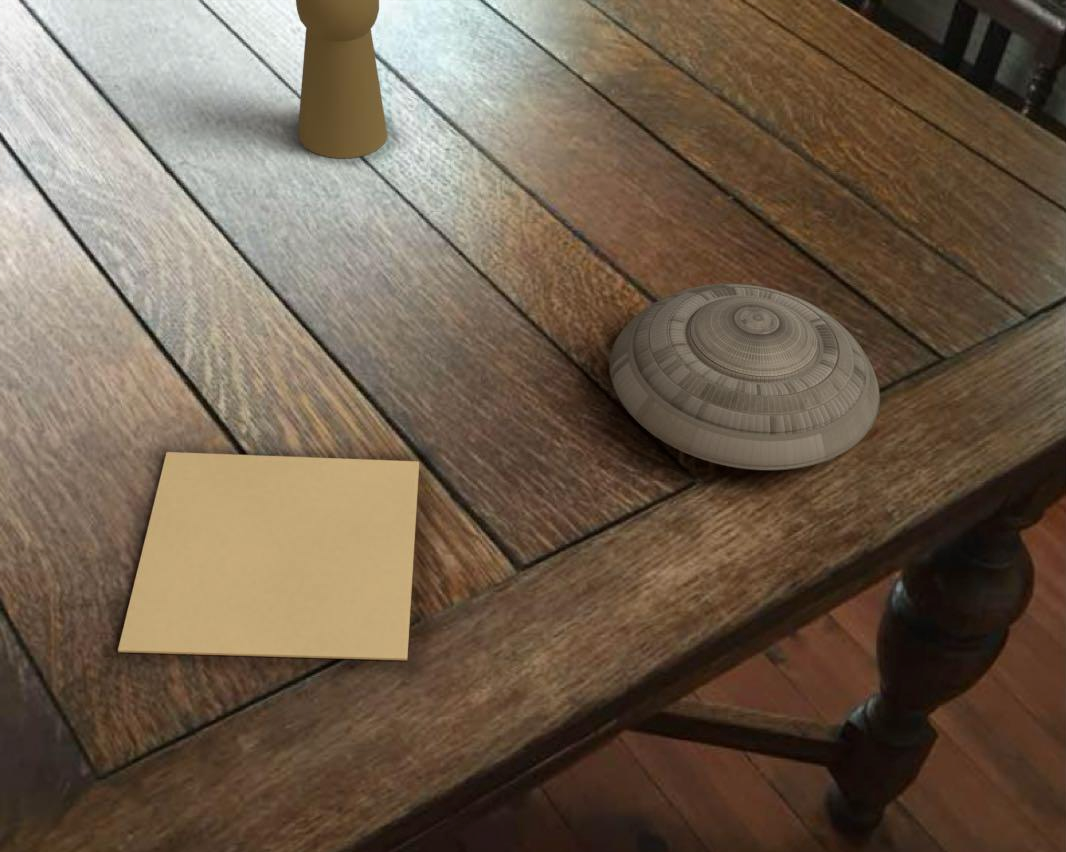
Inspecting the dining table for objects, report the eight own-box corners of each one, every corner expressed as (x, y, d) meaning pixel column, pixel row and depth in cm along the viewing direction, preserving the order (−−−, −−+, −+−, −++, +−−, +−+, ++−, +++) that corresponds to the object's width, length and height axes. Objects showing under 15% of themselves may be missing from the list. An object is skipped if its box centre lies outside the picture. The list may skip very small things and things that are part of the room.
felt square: (166, 454, 70) (166, 451, 70) (419, 463, 71) (419, 461, 71) (118, 652, 61) (117, 650, 61) (407, 660, 62) (407, 658, 62)
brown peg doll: (405, 131, 93) (405, -27, 85) (349, 168, 90) (343, 7, 82) (336, 102, 95) (329, -56, 87) (279, 137, 92) (266, -24, 84)
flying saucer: (602, 306, 81) (612, 228, 77) (850, 320, 82) (873, 243, 78) (611, 482, 71) (623, 402, 67) (894, 496, 72) (923, 419, 68)
